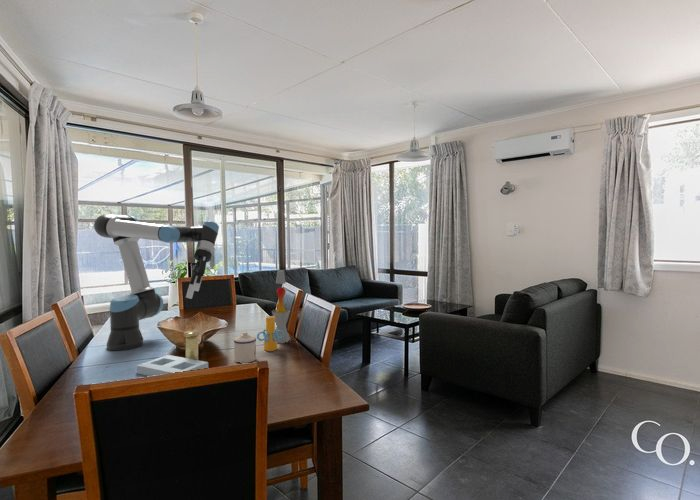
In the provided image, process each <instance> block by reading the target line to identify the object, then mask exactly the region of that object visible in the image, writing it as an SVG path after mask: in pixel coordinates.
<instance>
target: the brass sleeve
mask: <svg viewBox="0 0 700 500" xmlns="http://www.w3.org/2000/svg"><path fill="white" fill-rule="evenodd" d="M200 333H201V332H200V330H189V331H184V332H183V333H182V335H183V337H185V358H188V359H194V360H199V336H200V335H201V334H200Z"/></svg>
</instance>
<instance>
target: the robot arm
mask: <svg viewBox="0 0 700 500" xmlns="http://www.w3.org/2000/svg"><path fill="white" fill-rule="evenodd" d="M93 228H94V231H95V233H96V234H97V235H99V236H100V237H103V238H108V239H112V241H113V244H114V245H116V246H117V247H118V250H119V252H120V256H121V259H122V263H123V266H124V270H125V273H126V276H127V280H128V283H129V288H130V290H131V292H130V293H129V294H125V295H121V296H117V297H114V298H112V299H111V300H110V304H109V317H110V319H109V322H110V333H109V335H108V339H107V341H106V350H108V351H126V350H133V349H136V348H139V347H141V346H144V343H145V341H144V337H143V334H142V332H141V329H140V321H141V320H145V319H149V318H153V317H154V316H157V315H158V314H159V313H161V311H162V310H163V308H164V300H163V298H162V296H161V295H160V294H159V293H157V292H156V290H155V288H154V287H153V286H151V285H150V281H149V277H148V274H147V271H146V267H145V263H144V261H143V257H142V253H141V251H140V247H139V243H138V242H139V241H140V239H142V240H150V241H159V242H163V243H167V244H174V243H197V245H196V248H195V251H194V254H193V258H194V260H195V261H196V262H195V264H194V269H193V271H192V275H191V278H190V280H189V282H188V287H187V290H186V291H187V292H186V295H185V298H186V299H190V300H192V299H193V297H194V293H195V292H199V291H200V288H201V284H202V281H203V277H204V274H205V273H206V272H205V271H206V265H207V263H209V262H211V260H212V257H213V256H212V255H213V252H214V251H215V250H216V249H215V244H216V240H217V238H218V235H219V230H220V226H219V224H218V223H217V222H215V221H212V220H206V221H204V222H203V224H202V225H201V226H178V225H177V226H176V225H169V224H168V225H167V224H166V225H165V224H159V223H158V224H156V223H149V222H141V221H140V220H139V219H138V218H137V217H135V216H133V215H128V214H111V213H106V214H104V213H103V214H101V215H99V216H98V217H97V218H96V219H95V220H94V223H93Z"/></svg>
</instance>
